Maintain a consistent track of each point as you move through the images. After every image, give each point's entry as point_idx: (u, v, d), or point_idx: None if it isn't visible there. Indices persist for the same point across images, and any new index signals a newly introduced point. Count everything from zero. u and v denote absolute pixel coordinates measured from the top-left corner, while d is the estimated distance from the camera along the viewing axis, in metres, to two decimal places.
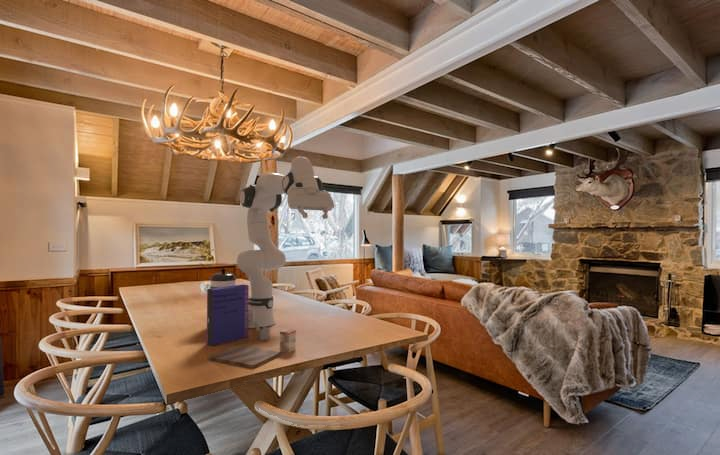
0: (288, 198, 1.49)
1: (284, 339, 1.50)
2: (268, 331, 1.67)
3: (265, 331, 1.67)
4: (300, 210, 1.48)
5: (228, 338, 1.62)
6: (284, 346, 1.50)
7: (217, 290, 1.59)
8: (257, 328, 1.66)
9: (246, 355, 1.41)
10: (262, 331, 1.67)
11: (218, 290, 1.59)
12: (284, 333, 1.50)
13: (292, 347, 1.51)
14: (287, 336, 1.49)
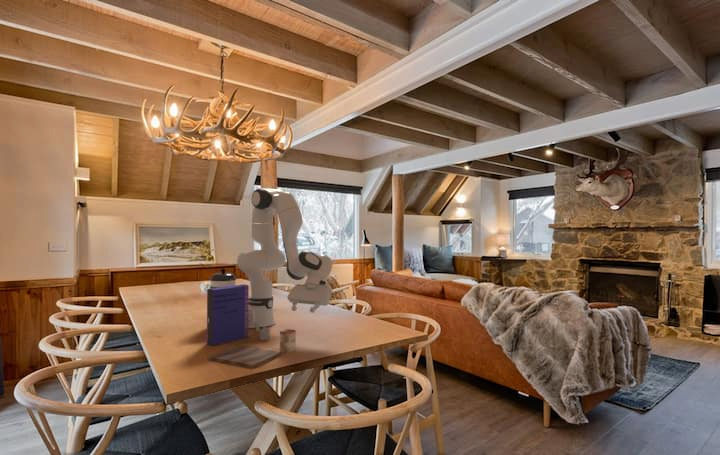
0: (328, 294, 1.63)
1: (284, 339, 1.50)
2: (268, 331, 1.67)
3: (265, 331, 1.67)
4: (317, 306, 1.61)
5: (228, 338, 1.62)
6: (284, 346, 1.50)
7: (217, 290, 1.59)
8: (257, 328, 1.66)
9: (246, 355, 1.41)
10: (262, 331, 1.67)
11: (218, 290, 1.59)
12: (284, 333, 1.50)
13: (292, 347, 1.51)
14: (287, 336, 1.49)
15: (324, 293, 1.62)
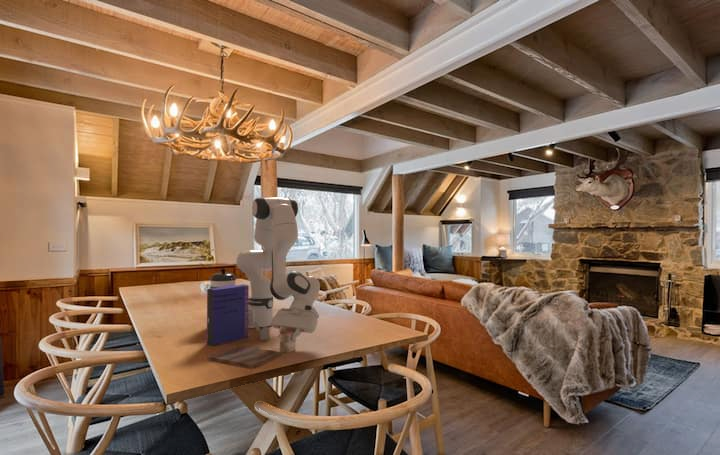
0: (314, 320, 1.52)
1: (284, 339, 1.50)
2: (268, 331, 1.67)
3: (265, 331, 1.67)
4: (298, 333, 1.51)
5: (228, 338, 1.62)
6: (284, 346, 1.50)
7: (217, 290, 1.59)
8: (257, 328, 1.66)
9: (246, 355, 1.41)
10: (262, 331, 1.67)
11: (218, 290, 1.59)
12: (284, 333, 1.50)
13: (292, 347, 1.51)
14: (287, 336, 1.49)
15: (309, 319, 1.52)
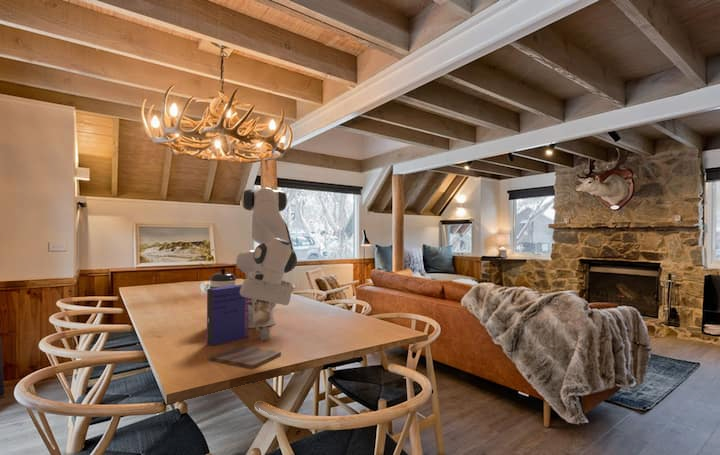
0: (243, 283, 1.43)
1: None
2: (268, 331, 1.67)
3: (265, 331, 1.67)
4: (252, 302, 1.44)
5: (228, 338, 1.62)
6: None
7: (217, 290, 1.59)
8: (257, 328, 1.66)
9: (246, 355, 1.41)
10: (262, 331, 1.67)
11: (218, 290, 1.59)
12: None
13: (256, 316, 1.42)
14: None
15: None
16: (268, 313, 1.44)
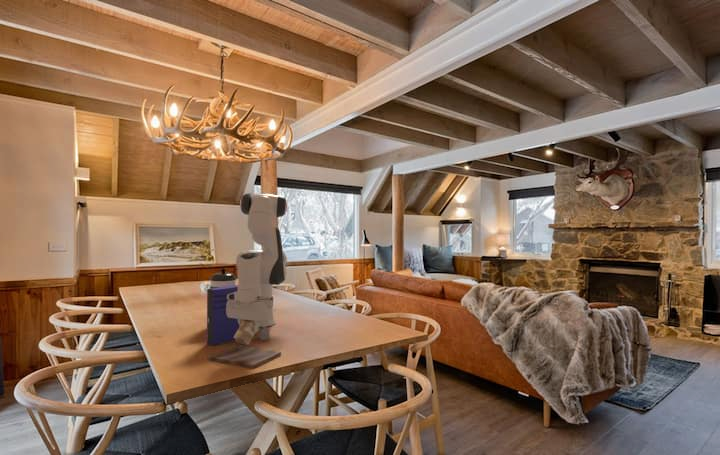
0: None
1: None
2: (268, 331, 1.67)
3: (265, 331, 1.67)
4: None
5: (228, 338, 1.62)
6: None
7: (217, 290, 1.59)
8: None
9: (246, 355, 1.41)
10: (262, 331, 1.67)
11: (218, 290, 1.59)
12: None
13: None
14: None
15: None
16: (244, 332, 1.39)
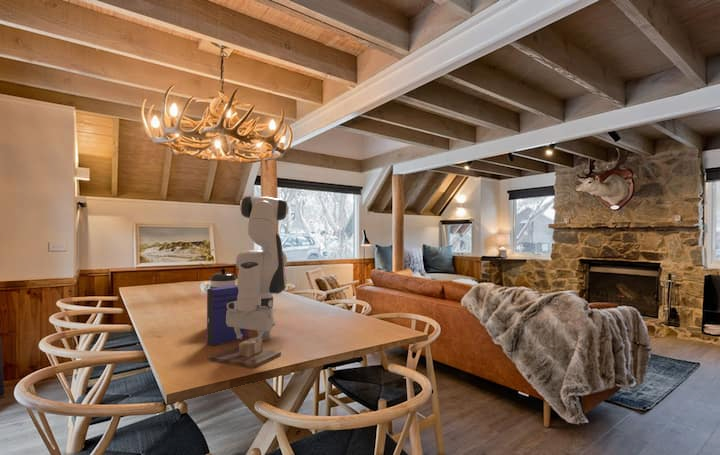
0: None
1: None
2: (268, 331, 1.67)
3: None
4: None
5: (228, 338, 1.62)
6: None
7: (217, 290, 1.59)
8: None
9: None
10: None
11: (218, 290, 1.59)
12: None
13: None
14: None
15: None
16: (251, 342, 1.43)
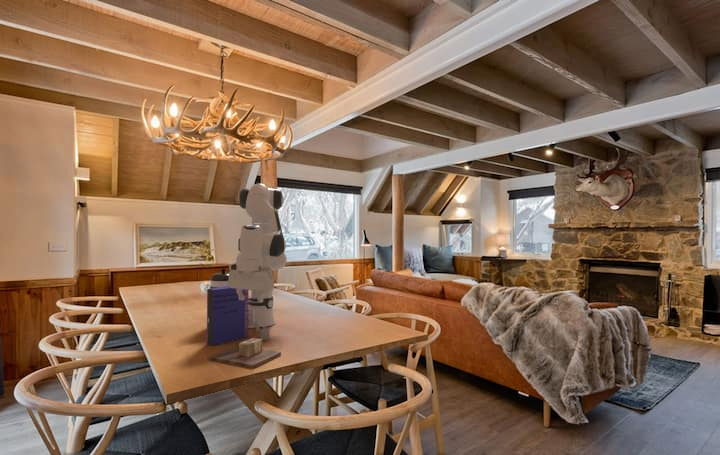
0: None
1: None
2: (268, 331, 1.67)
3: (265, 331, 1.67)
4: None
5: (228, 338, 1.62)
6: None
7: (217, 290, 1.59)
8: (257, 328, 1.66)
9: None
10: (262, 331, 1.67)
11: (218, 290, 1.59)
12: None
13: None
14: None
15: None
16: (251, 342, 1.43)
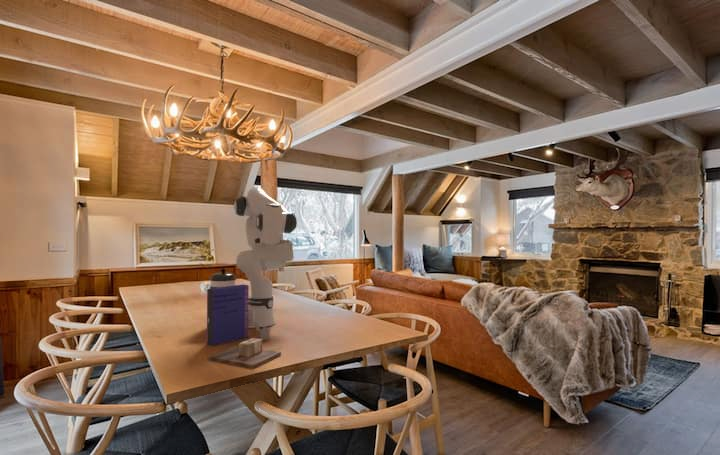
0: None
1: None
2: (268, 331, 1.67)
3: (265, 331, 1.67)
4: None
5: (228, 338, 1.62)
6: None
7: (217, 290, 1.59)
8: (257, 328, 1.66)
9: None
10: (262, 331, 1.66)
11: (218, 290, 1.59)
12: None
13: None
14: None
15: None
16: (251, 342, 1.43)
